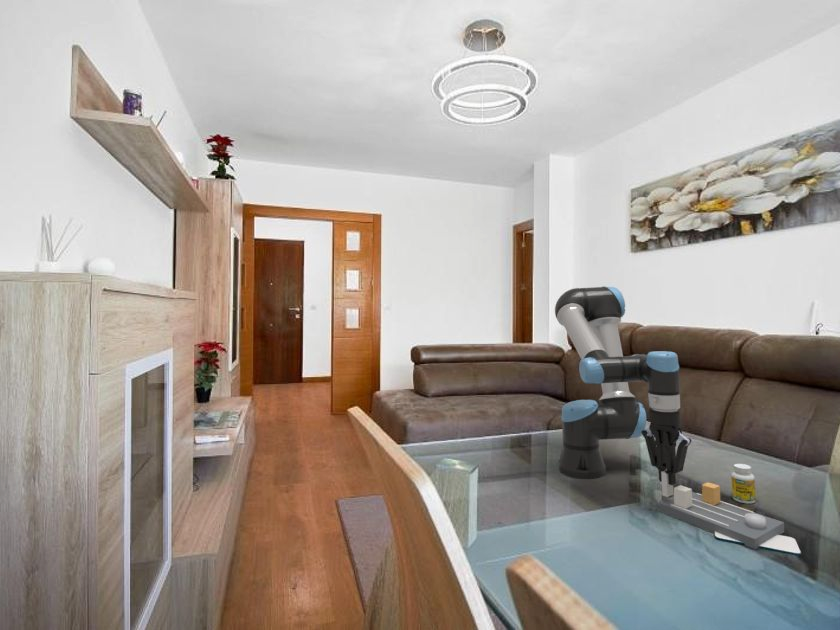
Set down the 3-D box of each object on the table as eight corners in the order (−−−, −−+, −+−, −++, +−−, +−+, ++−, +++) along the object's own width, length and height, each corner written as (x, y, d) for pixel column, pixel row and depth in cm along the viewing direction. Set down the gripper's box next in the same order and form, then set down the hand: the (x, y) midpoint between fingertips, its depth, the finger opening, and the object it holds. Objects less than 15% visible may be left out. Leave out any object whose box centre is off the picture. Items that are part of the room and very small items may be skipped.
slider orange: (702, 501, 120) (701, 484, 120) (708, 498, 122) (708, 482, 122) (714, 505, 118) (713, 488, 118) (720, 502, 119) (719, 485, 119)
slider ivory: (674, 504, 119) (673, 487, 119) (681, 501, 121) (680, 485, 121) (685, 508, 117) (685, 491, 116) (692, 505, 118) (691, 488, 118)
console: (658, 511, 122) (658, 495, 122) (688, 498, 128) (687, 483, 128) (755, 549, 101) (754, 530, 101) (784, 532, 108) (783, 514, 108)
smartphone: (794, 541, 105) (713, 526, 113) (794, 537, 105) (713, 522, 113) (802, 558, 98) (714, 541, 106) (802, 554, 98) (714, 537, 106)
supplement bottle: (754, 497, 127) (753, 464, 127) (757, 505, 122) (756, 470, 122) (731, 494, 129) (730, 461, 129) (733, 502, 125) (732, 468, 125)
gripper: (633, 406, 126) (637, 490, 126) (679, 415, 114) (683, 507, 115) (650, 402, 129) (654, 484, 130) (696, 410, 118) (700, 500, 118)
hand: (667, 494), depth 122 cm, fingers closed
